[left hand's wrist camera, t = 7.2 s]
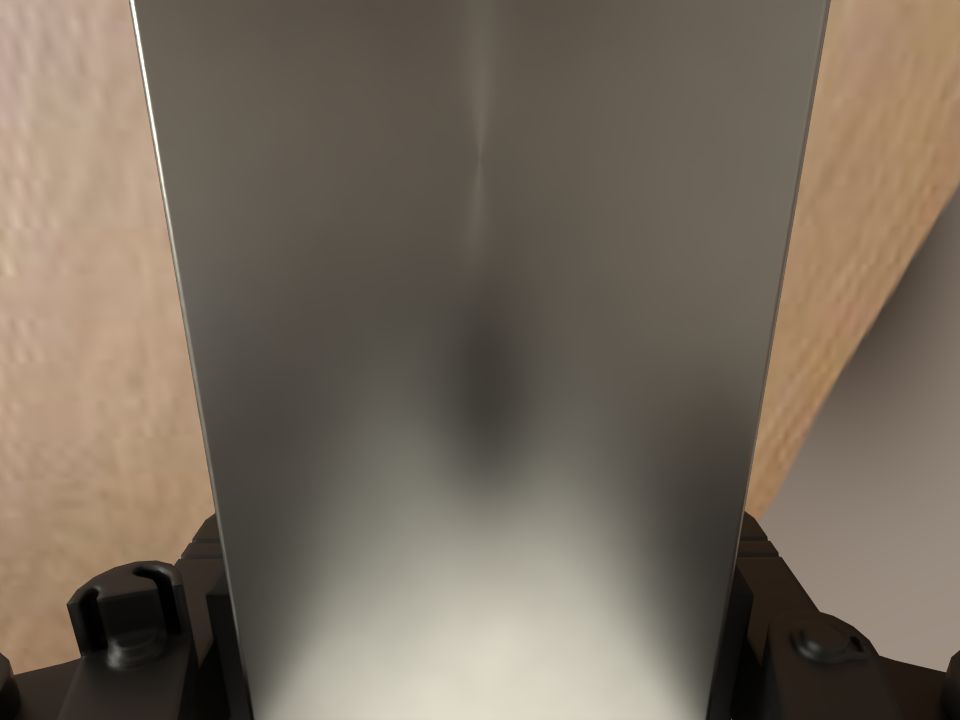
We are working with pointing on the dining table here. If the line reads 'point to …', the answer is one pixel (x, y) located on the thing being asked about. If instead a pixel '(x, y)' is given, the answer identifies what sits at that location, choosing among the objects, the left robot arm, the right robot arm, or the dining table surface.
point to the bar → (479, 334)
